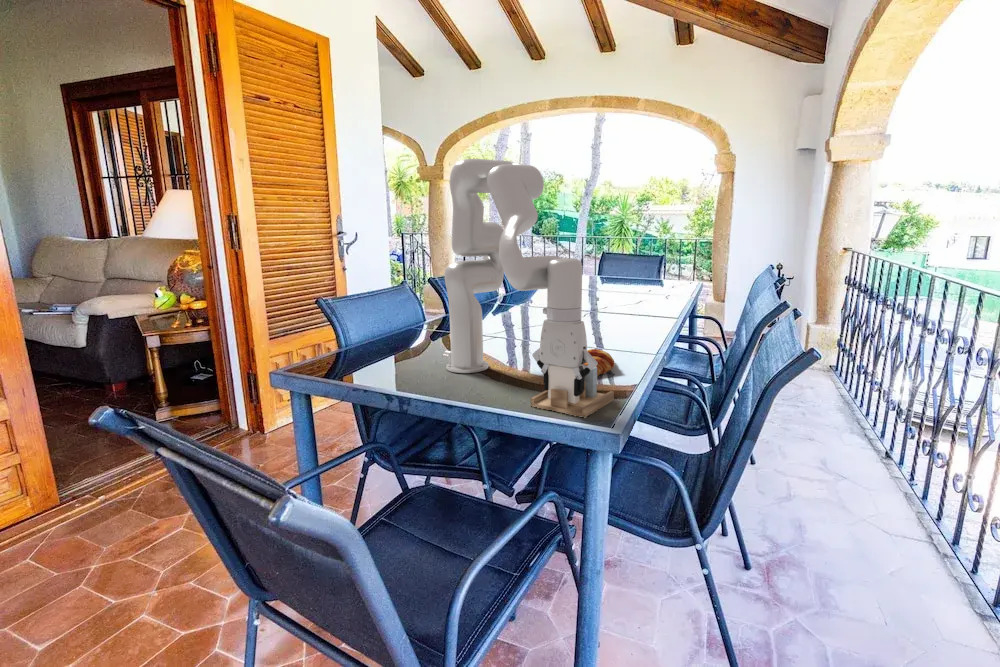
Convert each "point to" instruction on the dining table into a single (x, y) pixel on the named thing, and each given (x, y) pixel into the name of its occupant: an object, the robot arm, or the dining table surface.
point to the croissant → (601, 360)
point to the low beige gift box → (562, 381)
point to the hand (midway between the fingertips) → (563, 391)
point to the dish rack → (584, 407)
